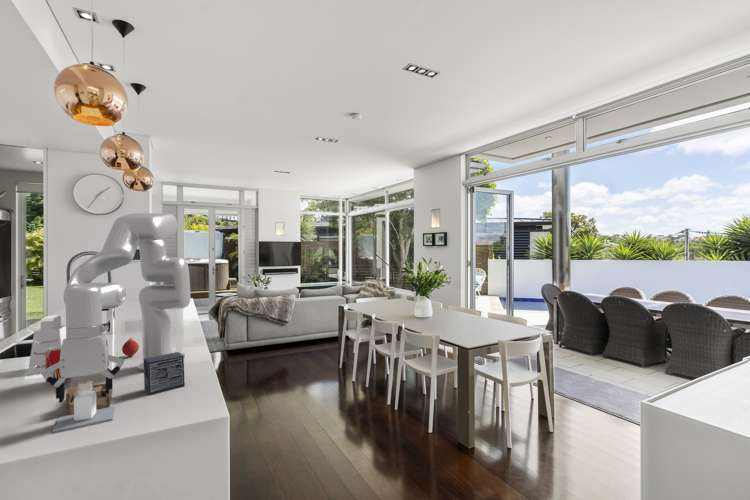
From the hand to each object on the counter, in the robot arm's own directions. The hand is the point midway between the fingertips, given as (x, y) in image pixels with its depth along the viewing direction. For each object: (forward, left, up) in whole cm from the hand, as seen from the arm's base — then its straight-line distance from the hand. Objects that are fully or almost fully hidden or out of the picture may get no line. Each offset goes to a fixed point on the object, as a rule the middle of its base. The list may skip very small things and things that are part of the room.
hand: (85, 396), depth 97 cm
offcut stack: (0, -10, -6) cm, 12 cm away
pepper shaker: (0, 0, -6) cm, 6 cm away
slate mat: (0, 0, -6) cm, 6 cm away
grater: (+16, -60, -7) cm, 63 cm away
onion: (-9, -62, -6) cm, 62 cm away
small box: (-19, -14, -7) cm, 24 cm away
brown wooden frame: (0, -14, -6) cm, 15 cm away
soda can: (+11, -40, -6) cm, 42 cm away
